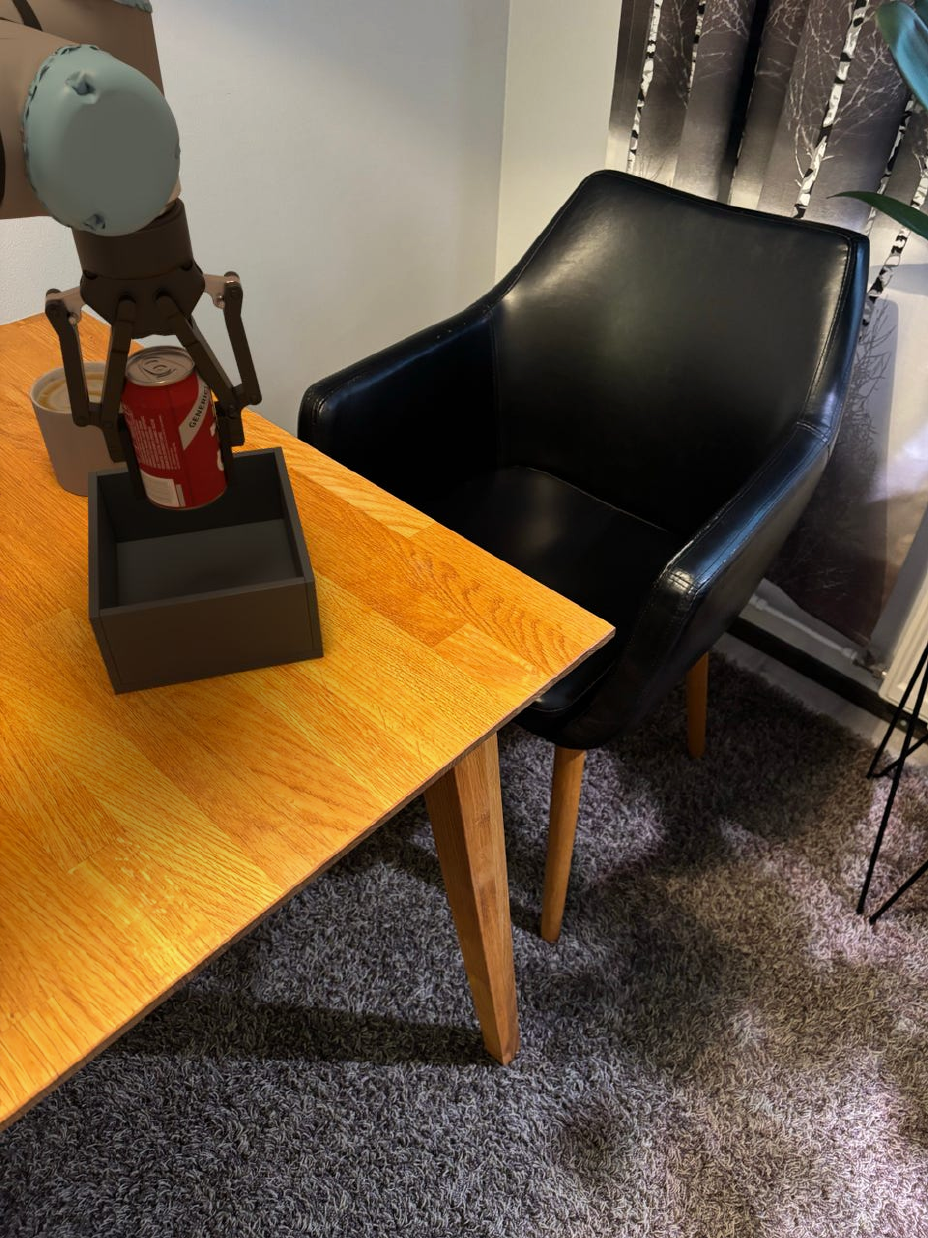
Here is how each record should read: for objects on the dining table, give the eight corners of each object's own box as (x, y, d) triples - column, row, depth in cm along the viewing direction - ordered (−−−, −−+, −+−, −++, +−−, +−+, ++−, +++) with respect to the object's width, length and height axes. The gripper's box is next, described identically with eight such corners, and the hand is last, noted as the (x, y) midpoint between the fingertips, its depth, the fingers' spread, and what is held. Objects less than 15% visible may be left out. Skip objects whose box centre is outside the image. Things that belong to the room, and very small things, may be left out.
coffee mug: (152, 491, 101) (131, 407, 94) (52, 501, 99) (23, 417, 92) (153, 421, 110) (135, 340, 103) (62, 429, 108) (36, 348, 101)
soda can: (178, 528, 77) (146, 397, 69) (130, 492, 81) (94, 363, 72) (246, 491, 81) (223, 362, 73) (197, 458, 84) (170, 331, 76)
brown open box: (114, 694, 81) (88, 618, 75) (110, 547, 94) (87, 471, 88) (323, 657, 85) (315, 580, 78) (291, 520, 98) (281, 445, 92)
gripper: (266, 169, 69) (298, 442, 85) (-30, 191, 65) (62, 473, 81) (281, 211, 64) (311, 492, 80) (-39, 238, 59) (61, 529, 76)
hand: (186, 482), depth 80 cm, fingers closed on soda can, 7 cm apart
